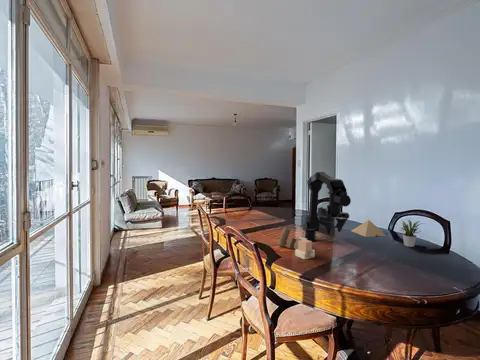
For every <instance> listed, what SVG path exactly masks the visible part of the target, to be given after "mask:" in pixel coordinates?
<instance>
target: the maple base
mask: <svg viewBox="0 0 480 360" xmlns="http://www.w3.org/2000/svg"><path fill="white" fill-rule="evenodd" d="M313 250H314V249H313ZM313 250H312V251H310V252H306V253H305V252H302V251H299V250H298V249H295V251H294V252H295V253H294V255H295V257H298V258H300V259H302V260H309V259H314V258H315V257H316V254H315V253H316V252H315V251H316V250H315V251H313Z"/></svg>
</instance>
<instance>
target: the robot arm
mask: <svg viewBox="0 0 480 360" xmlns="http://www.w3.org/2000/svg"><path fill="white" fill-rule="evenodd" d="M324 184H325V185H326V188H327V189H328V190H329V191H328V192H327V194H329V200H328V202H329V203H328V204H327V205H326V207H325V208H323V207H318V206H319V205H318V203H319V192H321V190H322V188H323V185H324ZM307 188H308V191H309V207H308V209H309V210H308V215H307V216H306V217H305V222H304V223H303V226H302V230H303V231H304V232H305V234H304V235H305V236H304V238H307V240H309V241H312V243H314V242H317V241H318V238H317V232H319V230H320V227H321V224H320V223H323V225H324V226H325V230H326V233H327V235H331V232H332V229H333V225H334V222H333V221H334V220H336V222H337V223H336V225H337V232H338V233H341V231H342V229H343V227H344V226H345V224H346V222H347V221H348V219H350V214H349V213H348V212H344V211H341V210H342V209H343V207H345V208H346V207H348V206H350V205H351V202H352V200H351V197H350V196H349V195H348V191H347V188H346V186H345V183H344V180H342V179H341V178H334V177H332V176H330V175H329V174H326V172H324V171H317V172H315V173H314V174H313V175H311V176H310V177H309V178H308V179H307ZM318 215H319V217H318Z"/></svg>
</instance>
